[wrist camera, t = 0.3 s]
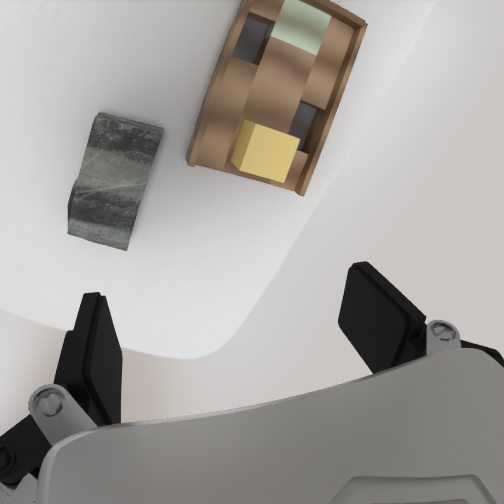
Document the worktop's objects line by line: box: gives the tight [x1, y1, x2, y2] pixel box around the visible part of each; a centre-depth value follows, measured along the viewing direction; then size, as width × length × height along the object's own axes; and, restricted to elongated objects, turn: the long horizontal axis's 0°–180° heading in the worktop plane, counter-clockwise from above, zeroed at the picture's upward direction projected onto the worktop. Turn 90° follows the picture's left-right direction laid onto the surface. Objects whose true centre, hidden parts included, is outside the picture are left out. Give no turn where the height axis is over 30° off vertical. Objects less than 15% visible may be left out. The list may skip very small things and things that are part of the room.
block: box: [231, 119, 300, 183], centre depth 33 cm, size 5×5×5 cm
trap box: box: [186, 0, 368, 197], centre depth 33 cm, size 24×14×4 cm, turn 161°
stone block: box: [68, 113, 163, 251], centre depth 33 cm, size 9×14×5 cm, turn 156°
